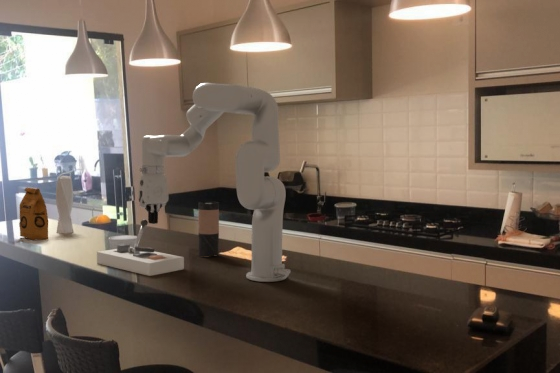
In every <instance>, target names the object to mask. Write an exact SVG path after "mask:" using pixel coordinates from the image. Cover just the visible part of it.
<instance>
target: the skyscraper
mask: <svg viewBox="0 0 560 373" xmlns="http://www.w3.org/2000/svg"><path fill="white" fill-rule="evenodd" d="M65 174H69V176H68V175H65ZM55 200H56V201H55V202H56V207H57V212H58V220H57V221H58V222H57V227H56V234H65V235H67V234H72V233H74V228H73V222H72V216H71V214H72V210H73V204H74V187H73V180H72V172H69V171H68V172H62V173H60V174H59V175H58V176H57V180H56V188H55Z"/></svg>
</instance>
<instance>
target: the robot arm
mask: <svg viewBox="0 0 560 373" xmlns="http://www.w3.org/2000/svg"><path fill="white" fill-rule="evenodd" d="M192 102H193V105H192V106H191V107H190V108H189V109H188V110H187V111H186V113H185V116H186V120H187V122H188V123H189V127H188V128H187V129H186V130H185V131H184V132H183V133H182V134H180V135H179V134H177V135H176V134H161V135H144V136H143V137H142V138H141V139H142V140H141V167H140V168H139V172H140V173H141V174H140V176H139V177H140V178H139V182H138V183H139V184H138V194H137V195H138V196H137V197H138V203H139V207H140V208H143V209H145V210H146V213H147V217H148V218H147V222H148V224H152V225H154V224H156V225H157V224H158V223H159V221H158V220H159V213H160V209H162V207H165V206H166V205H167V203H168V202H169V186H168V185H169V184H168V179H167V175H166V174H165V158H174V157H175V158H183V157H186V156H188V155H189V154H191V153H192V152H193V151H195V150H196V148H198V147H199V146H200V145H201V143H202V142H203V140H204V138H205V135H206V130H207V129H208V128H209V127H211V125H213V123H214V122H216V120H218V119H219V118H220V117H221V116H222V115H223V114H224V113H229V114H238V115H248V116H249V115H250V116H253V120H252V123H251V129H250V132H251V140H249V141H245V142H244V143H242V144H241V145H240V146H239V148H237V149H238V150H237V151H236V154H235V160H234V161H235V163H234V165H235V185H236V195H237V199H238V201H239V204H240V205H241V206H242V207H244V209H247V210H253V215H252V219H251V264H250V265H251V268H250V269H251V271H248V272H247V273H246V274H245V275H246V279H247V280H249V281H254V282H261V283H264V282H265V283H271V282H273V283H274V282H280V281H284V280H286V279H287V278H288V277H289V275H290V274H291V272H292V271H291V269H289V268H286V267H285V266H286V265H285V264H286V263H283V227H284V226H283V225H284V224H283V221H284V208H285V202H286V187H285V184H284V183H283V182H282V181H281V179H279V178H277V177H274V176H265V173H269V172H273V171H275V170H277V169H278V167H279V165H280V162H281V150H280V149H281V147H280V131H279V105H278V103H277V100H276V98H274V96H273V95H272V94H270V93H269V92H268V91H265V90H264V89H263V90H262V89H260V88H256V87H251V86H245V85H240V84H228V83H214V82H202V83H200V84H198V85H197V86H196V87H195V89H194V90H193V92H192Z"/></svg>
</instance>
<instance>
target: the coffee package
mask: <svg viewBox="0 0 560 373" xmlns="http://www.w3.org/2000/svg"><path fill="white" fill-rule="evenodd" d="M24 191H25V194H24V196H23V197H22V199H21V201H20V202H19V223H18V225H19V236H20V237H22V238H26V239H28V240H32V241H41V240H48V239H49V218H48V210H47V206H46V202H45V199H44V198H43V195H42V193H41V190H40V188H34V187H33V188H32V187H25V189H24Z"/></svg>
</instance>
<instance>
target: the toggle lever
mask: <svg viewBox="0 0 560 373" xmlns="http://www.w3.org/2000/svg"><path fill="white" fill-rule="evenodd" d="M148 224H149V222H148V219H141V221H140V227H139V231H138V234H137V235H136V236H137V239H136V241H135V244H134V247H133V248H131V250H130V251H131V252H132V253H134V249H136V247H139V243H140V240H141V238H142V236H143V233H144V229H145V228H146V227H147V226H148Z"/></svg>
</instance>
